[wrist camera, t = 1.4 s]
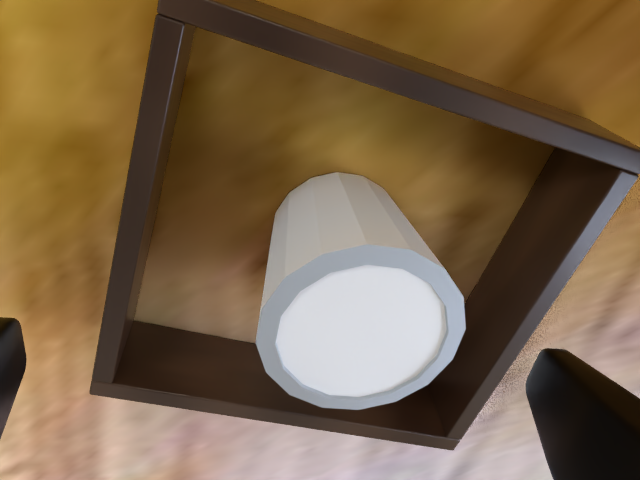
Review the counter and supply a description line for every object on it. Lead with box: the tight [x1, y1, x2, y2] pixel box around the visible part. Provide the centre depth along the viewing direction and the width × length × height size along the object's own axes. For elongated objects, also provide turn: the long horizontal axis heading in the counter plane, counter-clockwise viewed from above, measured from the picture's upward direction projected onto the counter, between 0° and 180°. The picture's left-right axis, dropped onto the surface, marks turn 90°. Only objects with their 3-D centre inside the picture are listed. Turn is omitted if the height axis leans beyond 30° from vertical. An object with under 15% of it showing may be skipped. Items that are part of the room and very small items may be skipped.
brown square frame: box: [90, 0, 640, 450], centre depth 21 cm, size 17×16×4 cm
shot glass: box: [256, 172, 466, 410], centre depth 20 cm, size 7×7×7 cm
